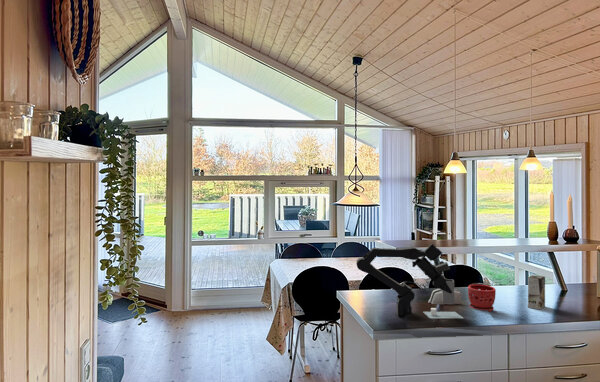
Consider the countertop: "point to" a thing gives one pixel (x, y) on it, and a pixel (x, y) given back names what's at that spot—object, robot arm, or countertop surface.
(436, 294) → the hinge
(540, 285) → the coffee box
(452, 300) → the steel sleeve
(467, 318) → the countertop surface
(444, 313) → the base plate
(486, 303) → the plant pot
